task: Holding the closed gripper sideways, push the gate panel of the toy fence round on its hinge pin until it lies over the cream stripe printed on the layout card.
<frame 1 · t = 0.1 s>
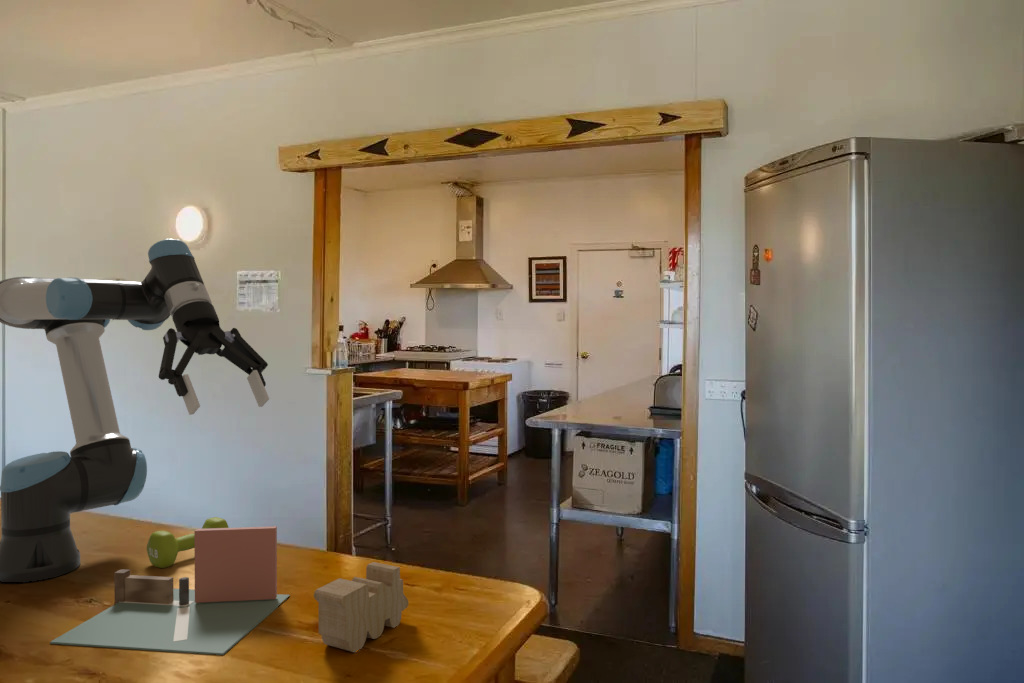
hand: (231, 406, 126), 36 cm above the table, tool tilted 35°, fingers open, 13 cm apart
toy train: (363, 637, 115), on the table
fence wall: (184, 605, 126), resting on layout card
gate panel: (236, 564, 128), point 7 cm above the table, hinge at 0.0°
dumbbell: (189, 558, 152), on the table
layout card: (179, 618, 121), on the table
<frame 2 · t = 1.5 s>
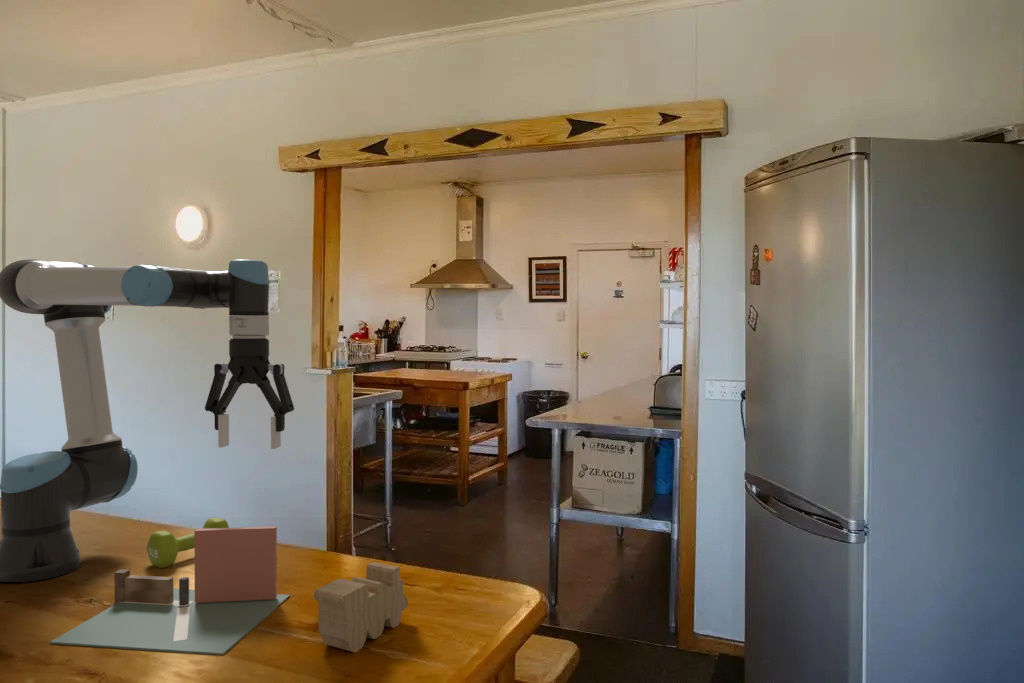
hand: (249, 447, 142), 26 cm above the table, tool pointing down, fingers open, 10 cm apart
nothing on the table moved.
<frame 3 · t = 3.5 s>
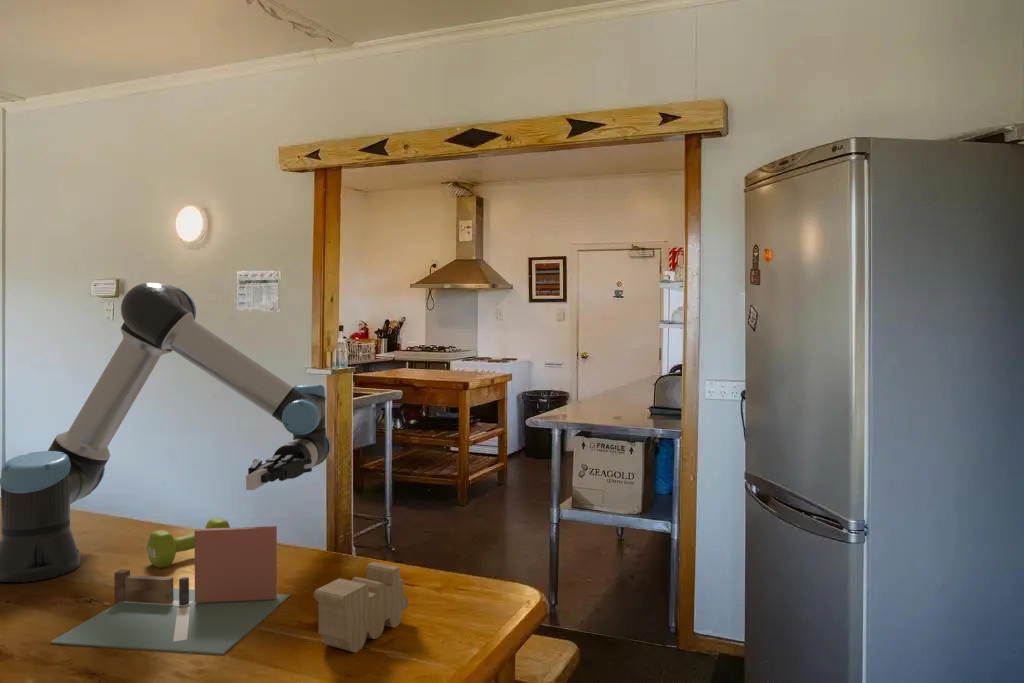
hand: (250, 482, 133), 21 cm above the table, tool horizontal, fingers closed
nothing on the table moved.
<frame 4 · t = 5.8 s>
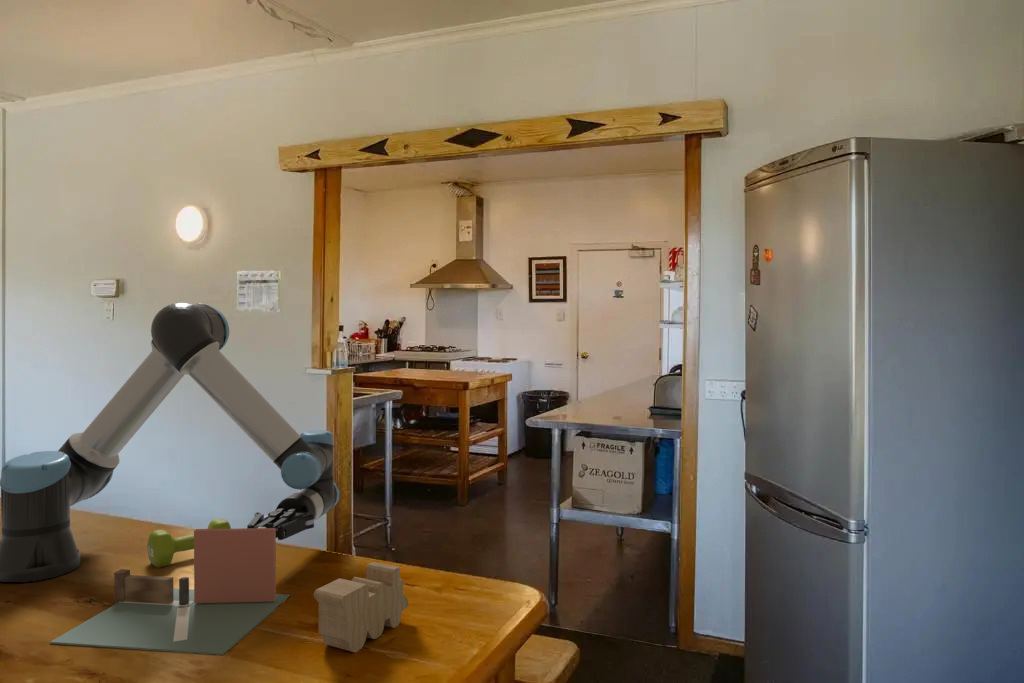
hand: (246, 544, 128), 11 cm above the table, tool horizontal, fingers closed
gate panel: (235, 565, 127), point 7 cm above the table, hinge at 4.0°, touching gripper
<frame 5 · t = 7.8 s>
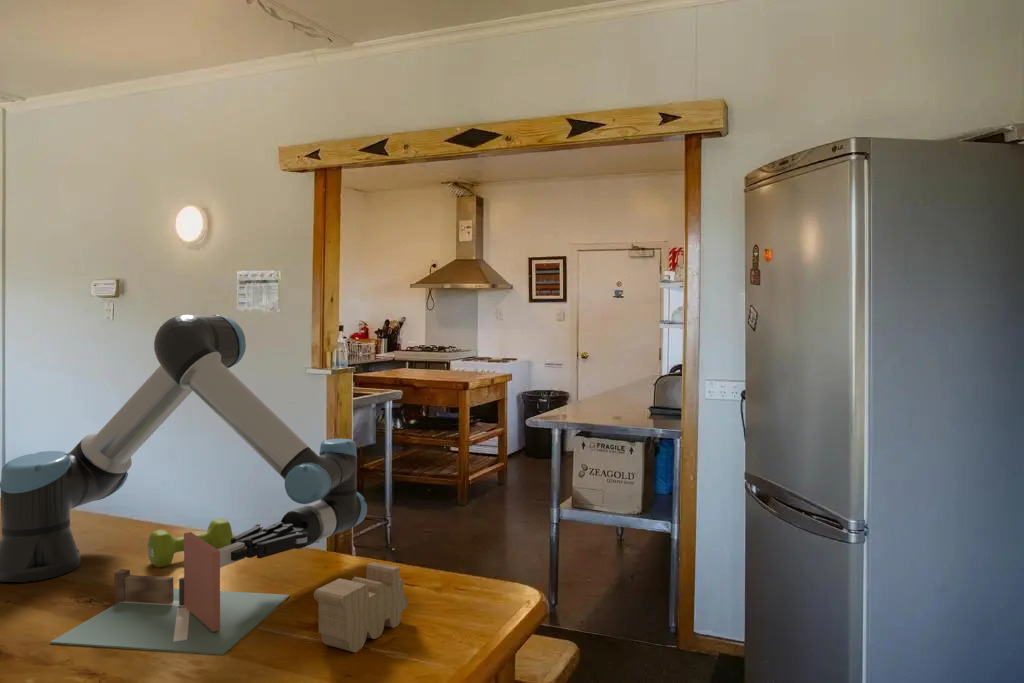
hand: (212, 561, 119), 11 cm above the table, tool horizontal, fingers closed
gate panel: (201, 579, 120), point 7 cm above the table, hinge at 55.6°, touching gripper
everything else where it was.
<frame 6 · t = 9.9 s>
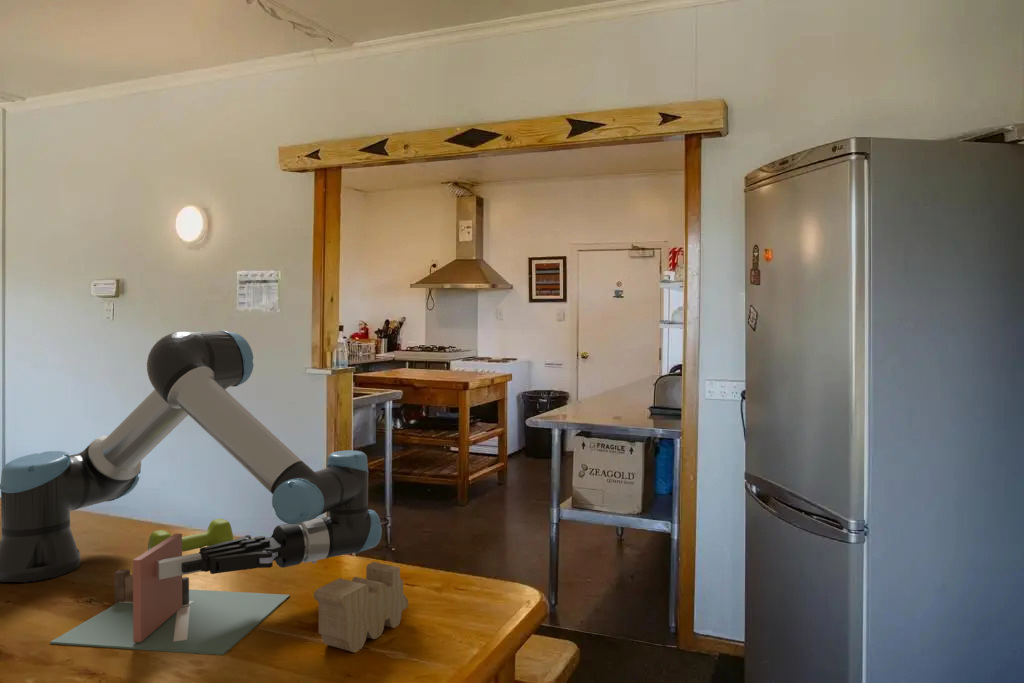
hand: (158, 570, 114), 11 cm above the table, tool horizontal, fingers closed
gate panel: (159, 584, 117), point 7 cm above the table, hinge at 97.7°, touching gripper
everything else where it was.
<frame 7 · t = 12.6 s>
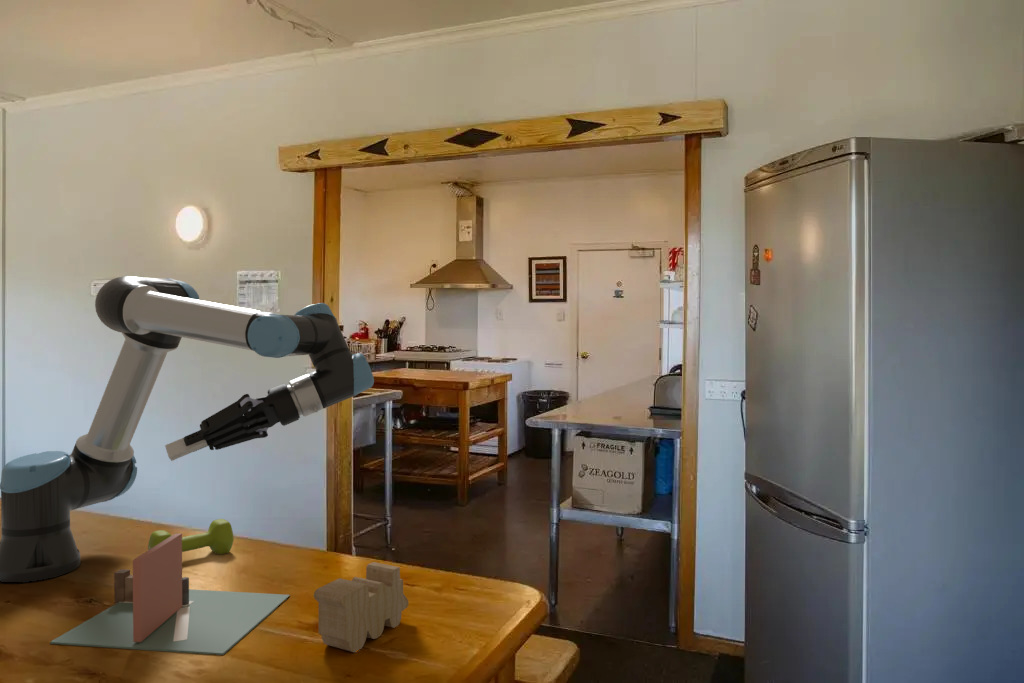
hand: (168, 453, 127), 27 cm above the table, tool tilted 70°, fingers closed
gate panel: (159, 584, 117), point 7 cm above the table, hinge at 97.7°
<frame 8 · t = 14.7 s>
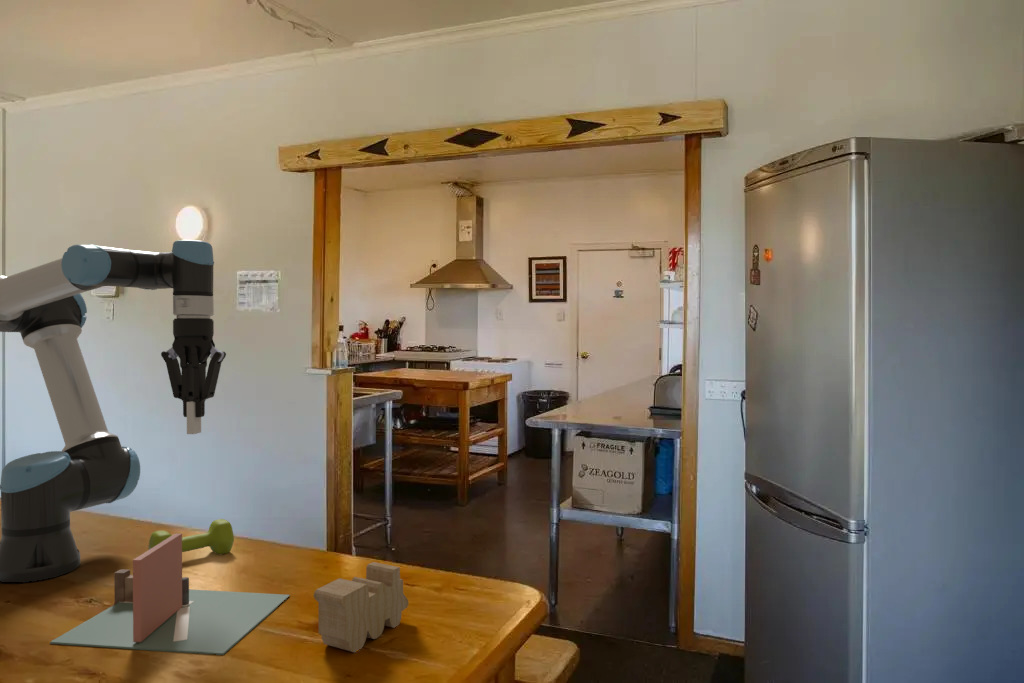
hand: (194, 433, 143), 28 cm above the table, tool pointing down, fingers closed
at the end: gate panel at +98° (first picture: +0°) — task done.
